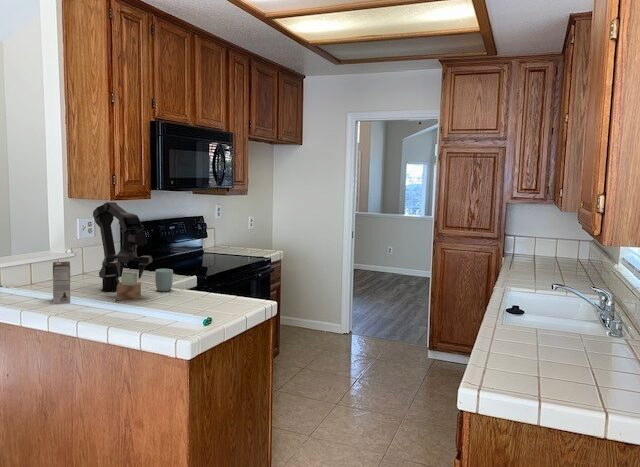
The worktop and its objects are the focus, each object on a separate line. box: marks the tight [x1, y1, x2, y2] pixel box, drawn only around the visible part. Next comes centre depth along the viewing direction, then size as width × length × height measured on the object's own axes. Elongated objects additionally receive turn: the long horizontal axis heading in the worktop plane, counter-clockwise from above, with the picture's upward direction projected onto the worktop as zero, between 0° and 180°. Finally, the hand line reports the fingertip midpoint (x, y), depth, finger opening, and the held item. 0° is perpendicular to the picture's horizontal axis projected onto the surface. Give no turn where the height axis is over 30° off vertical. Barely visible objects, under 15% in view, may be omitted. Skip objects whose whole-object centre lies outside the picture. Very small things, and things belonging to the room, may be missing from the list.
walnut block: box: [116, 281, 142, 301], centre depth 216 cm, size 9×9×6 cm
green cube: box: [121, 271, 138, 286], centre depth 216 cm, size 5×5×5 cm
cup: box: [154, 268, 174, 293], centre depth 231 cm, size 8×8×10 cm
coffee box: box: [52, 260, 71, 305], centre depth 204 cm, size 9×6×16 cm
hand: (129, 278), depth 215 cm, fingers open, 9 cm apart
